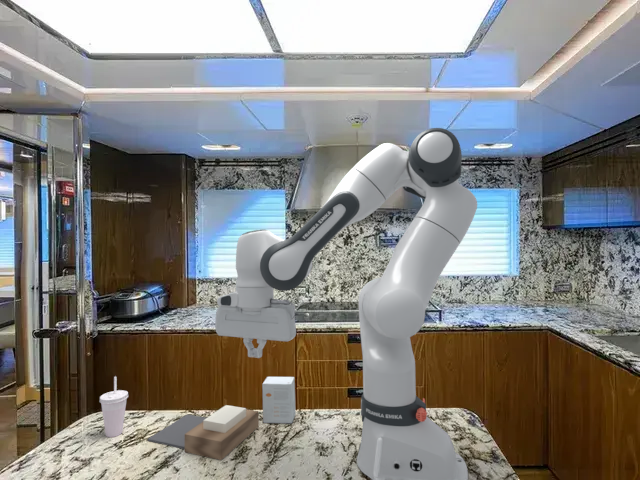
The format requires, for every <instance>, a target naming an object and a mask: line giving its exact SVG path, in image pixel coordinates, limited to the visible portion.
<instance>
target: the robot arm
mask: <svg viewBox="0 0 640 480" xmlns="http://www.w3.org/2000/svg"><path fill="white" fill-rule="evenodd" d="M408 150H409V151H408ZM408 150H403V148H401V147H400V146H398V145H397V144H394V143H391V142H386V143H381V144H380V145H378V146H376V147H375V148H374V149H373V150H371V151H370V152H369V153H367V154H366V155H365V156H363V157H362V158H361V159H360V160H359V161H358V162H357V163H356V164H355V165H354V166H353V167H352V168H351V169H350V170H348V172H347V173H346V174H345V176H343V177H342V179H341V180H340V182H339V183H338V184H337V186H336V187H335V189H334V190H333V192H331V195H330V196H329V197H328V199H327V200H326V202H325V203H324V204H323V206H322V207H321V208H320V209H319V210H318V211H317V212H315V214H314V215H313V216H312V217H311V218H310V219H309V220H308V221H307V222H306V223H305V224H304V225H302V227H300V228H299V230H298V231H297V232H295V234H293V235H292V236H290V237H289V238H286V239H284V238H281V237H279V236H278V235H276V234H274V233H273V232H272V231H270V230H269V229H255V230H250V231H246V232H244V233H242V234H241V235H240V236H239V237H238V240H237V245H236V249H235V250H236V253H235V270H236V274H237V279H236V283H235V291H232V292H230V293H227V294H224V295H221V296H218V298H217V299H216V302H217V306H219V307H218V308H217V310H216V313H215V325H214V326H215V327H214V329H215V332H216V335H218V336H220V337H234V338H242V339H243V344H244V346H245V348H246V349H247V357H248V358H257V359H260V358H262V357H263V349H264V348H265V345H266V344H267V341H278V342H289V341H291V340H293V339H294V338H295V337H296V335H297V326H296V325H297V324H296V318H295V315H296V306H295V305H294V303H293V302H291V301H290V300H289V299H277V298H274V289H275V290H277V291H281V292H284V291H285V292H286V291H291V290H294V289H296V288H297V287H299V286H300V285H301V284H302V283H303V281H304V280H305V279H306V278H308V276H309V275H310V274H311V271H312V269H313V261H314V258H315V257H316V256H317V255H318V254H319V253H320V252H321V251H322V250H323V249H324V248H325V247H326V246H327V245H328V243H330V241H332V239H334V238H335V237H336V235H337V234H339V233H340V232H341V231H342V230H343V229H345V228H347V227H349V226H351V225H352V224H354V223H357V222H361V221H362V220H364V219H366V218H368V216H370V215H371V214H374V212H375V211H376V210H378V209H379V208H380V207H381V206H382V205H383V204H384V203H385V202H386V201H387V200H388V199H389V198H390V197H391V196H393V194H394V193H395V192H397V190H399V189H401V188H402V189H403V191H405V192H407V193H410V194H412V195H415V196H416V197H418V198H421V199H423V200H424V201H423V204H422V205H421V207H420V209H419V210H418V212H417V213H416V215H415V216H414V218H413V219H412V221H411V222H410V224H409V225H408V227H407V228H406V230H405V232H404V233H403V235H402V236H401V237H400V239H399V240H398V242H397V244H396V245H395V247H394V249H393V253H392V255H391V257H390V259H389V261H388V264H387V265H386V268H385V269H384V272H383V274H382V275H381V277H377V278H374V279H372V280H370V281H368V282H367V283H365V284H364V285H363V287H362V288H361V289H360V292H359V295H358V317H359V318H358V320H359V330H360V331H359V332H360V344H361V354H362V385H363V389H362V395H361V399H360V416H361V422H362V431H361V440H360V445H359V448H358V449H359V450H358V454H357V457H356V465H357V467H358V468H359V470H360V471H361V472H362V473H363V474H364V475H365V476H367V477H368V478H370V479H371V480H469V472H468V467H467V464H466V461H465V460H464V458H463V457H462V456H461V455H460V454H459V453H456V451H455V447H454V444H453V441H452V438H451V436H450V435H449V433H448V432H446V431H445V430H444V429H443V428H441V426H440V425H438V424H436V423H435V422H434V421H433V419H430V418H429V417H428V412H427V403H426V399H425V398H424V397H422V400H421V399H420V397H418V396H417V395H416V394H417V393H416V392H417V391H416V388H417V387H416V361H415V360H416V359H415V355H414V351H413V347H412V341H411V337H413V336H415V335H416V334H417V333H418V332H420V330H421V329H422V327H423V325H424V322H425V318H426V317H425V316H426V310H427V307H428V305H429V302H430V300H431V297H432V295H433V292H434V289H435V287H436V284H437V282H438V281H439V278H440V276H441V274H442V273H443V271H444V269H445V268H446V266H447V265H448V263H449V261H450V259H451V258H452V257H453V255H454V253H455V252H456V250H458V247H459V246H460V244H461V243H462V241H463V240H464V237H466V234H467V233H468V230H469V228H470V226H471V224H472V223H473V219H474V217H475V214H476V211H477V209H478V200H477V198H476V195H475V194H473V192H472V191H471V190H469V189H468V188H467V187H465V186H463V185H462V184H460V181H459V179H460V177H461V175H462V159H463V158H462V149H461V145H460V142H459V140H458V137H456V135H455V134H454V133H452V132H451V131H450V130H449V129H446V128H442V127H432V128H429V129H428V128H427V129H426V130H423V131H422V132H420V133H419V134H418V135H417V136H416V137H415V138H414V140H413V141H412V143H411V144H410V147H409V149H408ZM254 339H255V340H256V343H257V344H258V346H257V347H256V348H255V346H254V344H253V341H254Z"/></svg>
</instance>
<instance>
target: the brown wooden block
mask: <svg viewBox="0 0 640 480" xmlns="http://www.w3.org/2000/svg"><path fill="white" fill-rule="evenodd" d="M259 414H260V413H259V411H258V410H252V409H247V408H246V417H245V418H243V419H242V420H241V421H240V422H238V423H237V424H236V425H235V426H233V427H232V428H231V429H230V430H228V431H227V432H226V433H222V432H217V431H212V430H207V429H203V422H202V423H200V424H199V425H197V426H196V427H194V428H193V429H192V430H190V431H189V432H187V433H186V434H185V449H184V452H185V453H187V454H192V455H197V456H200V457H201V456H202V457H206V458H211V459H216V460H220V461H223V460H224V458H226V457H227V456H228V455H229V454H230V453H231V452H233V451H234V450H235V449H236V448H237V447H238V446H239V445H240V444H242V442H244V441H245V440H246V439H247V438H248V437H249V436H251V434H253V433H254V432H255V431H256V430H257V429H258V428H260V427H259V426H260V425H259V424H260V423H259V422H260V421H259V420H260V419H259Z"/></svg>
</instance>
